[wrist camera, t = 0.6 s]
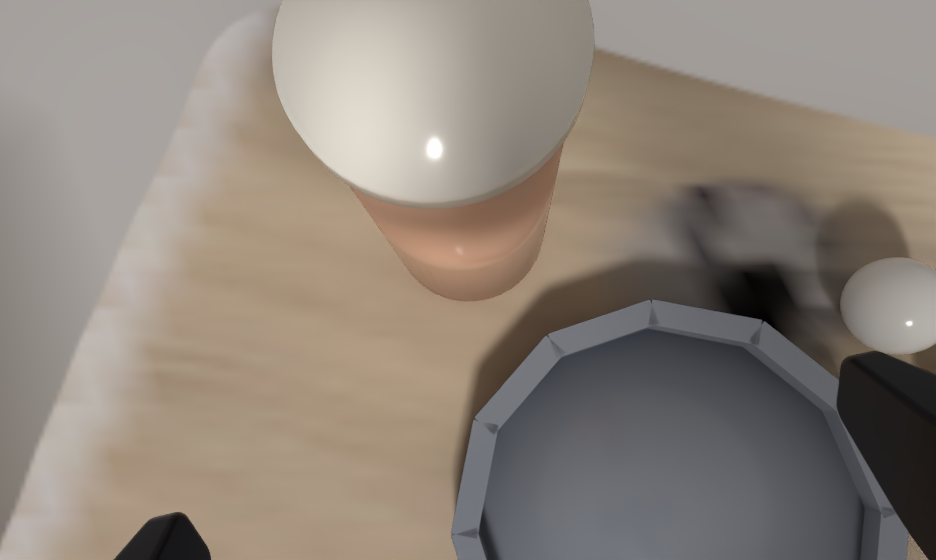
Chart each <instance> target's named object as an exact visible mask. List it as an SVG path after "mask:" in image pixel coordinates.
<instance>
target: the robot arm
mask: <svg viewBox="0 0 936 560" xmlns="http://www.w3.org/2000/svg"><path fill="white" fill-rule="evenodd" d="M836 404H837V410H838V414H839V416H840V419H841V420H842V422H843V424H844V426H845V427H846V429H847V431H848V433H849V434H850V436H851V438H852V439H853V441H854V443H855V445H856V446H857V448H858V450H859V451H860V453H861V455H862V456H863V458H864V460H865V462H866V463H867V465H868V467H869V468H870V470H871V472H872V474H873V475H874V477H875V479H876V480H877V482H878V484H879V486H880V487H881V489H882V491H883V492H884V494H885V496H886V497H887V499H888V501H889V503H890V504H891V506H892V507H893V509H894V511H895V512H896V514H897V516H898V517H899V519H900V520H901V522H902V523H903V525H904V526H905V528H906V529H907V530H908V532H909V533H910V535H911V536H912V538H913V539H914V540H915V542H916V543H917V544H918V546H919V547H920V549H921V550H922V551H923V553H924V554H925V555H926V557H927V558H928V559H929V560H936V374H933V373H931V372H928V371H926V370H924V369H921V368H919V367H916V366H914V365H912V364H909V363H907V362H904V361H902V360H899V359H897V358H895V357H892V356H890V355H887V354H885V353H882V352H879V351H870V352H865V353H861V354H857V355H852V356H848V357H846V358H845V359H844V360H843V362H842V364H841V369H840V377H839V385H838V392H837V400H836ZM114 560H211V556H210V552H209V549H208V547H207V545H206V544H205V542H204V541H203V539H202V538H201V536H200V535H199V533H198V532H197V530H196V529H195V527H194V526H193V524H192V523H191V521H190V520H189V518H188V517H187V516H186V515H185V514H183V513H181V512H175V513H170V514H166V515H162V516H158V517H154V518H152V519H150V520H149V521H148V522H146V523H145V524H144V526H143V527H142V528H141V529H140V530H139V531H138V532H137V534H136V535H135V536H134V537H133V538H132V539H131V540H130V542H129V543H128V544H127V545H126V546H125V547H124V548H123V550H122V551H121V552H120V553H119V554H118V555H117V556H116V558H115V559H114Z"/></svg>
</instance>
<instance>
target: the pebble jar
mask: <svg viewBox="0 0 936 560" xmlns="http://www.w3.org/2000/svg"><path fill="white" fill-rule="evenodd" d="M593 55H594V24H593V19H592V14H591V8H590V5H589V2H588V0H283V1H282V4H281V7H280V10H279V12H278V15H277V19H276V24H275V29H274V33H273V45H272V63H273V74H274V79H275V83H276V88H277V92H278V95H279V97H280V100H281V103H282V105H283V108H284V110H285V112H286V114H287V116H288V118H289V119H290V121H291V123H292V125H293V127H294V128H295V129H296V131H297V132H298V133H299V135H300V136H301V137H302V139H303V140H304V141H305V143H306V144H307V145H308V147H309V148H310V149H311V151H312V152H313V153H314V155H315V156H316V157H317V159H318V160H319V161H320V162H321V163H322V164H323V165H324V166H325V167H326V168H327V169H328V170H329V171H330V172H331V173H332V174H333V175H335V176H336V177H337V178H339V179H340V180H341V181H343V182H344V183H345V184H347V185H348V186H350V188H351V189H352V190H353V192H354V193H355V195H356V196H357V198H358V199H359V200H360V202H361V203H362V205H363V206H364V208H365V209H366V210H367V212H368V213H369V215H370V216H371V218H372V219H373V220H374V222H375V223H376V225H377V226H378V227H379V229H380V230H381V232H382V233H383V235H384V236H385V237H386V239H387V240H388V242H389V243H390V245H391V246H392V247H393V249H394V250H395V252H396V253H397V255H398V256H399V257H400V259H401V260H402V262H403V263H404V265H405V266H406V267H407V269H408V270H409V272H410V273H411V274H412V275H413V277H414V278H415V279H416V280H417V281H418V282H419V283H420V284H422V285H423V286H424V287H426V288H427V289H428V290H430V291H432V292H434V293H435V294H438V295H440V296H443V297H445V298H449V299H453V300H459V301H479V300H485V299H489V298H493V297H495V296H498V295H500V294H502V293H504V292H506V291H508V290H509V289H511V288H512V287H514V286H515V285H516V284H518V283H519V282H520V281H521V280H522V279H523V278H524V277H525V276H526V275H527V273H528V272H529V271H530V270H531V268H532V267H533V265H534V263H535V261H536V260H537V257H538V255H539V252H540V249H541V245H542V241H543V237H544V232H545V227H546V223H547V218H548V213H549V209H550V204H551V199H552V195H553V190H554V185H555V180H556V176H557V171H558V166H559V162H560V157H561V152H562V148H563V143H564V141H565V139H566V138H567V136H568V134H569V133H570V131H571V129H572V127H573V126H574V124H575V122H576V119H577V117H578V114H579V112H580V110H581V107H582V104H583V100H584V96H585V92H586V89H587V85H588V81H589V77H590V73H591V68H592V63H593Z"/></svg>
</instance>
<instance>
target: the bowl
mask: <svg viewBox="0 0 936 560" xmlns="http://www.w3.org/2000/svg"><path fill="white" fill-rule="evenodd" d="M838 385H839V380H838V379H837V378H836V377H834V376H833V375H832V374H831V373H829V372H828V371H827V370H825V369H824V368H823V367H822V366H820V365H819V364H818V363H817V362H815V361H814V360H813V359H812V358H810V357H809V356H808V355H807V354H805V353H804V352H803V351H802V350H800V349H799V348H798V347H796V346H795V345H794V344H793V343H791V342H790V341H789V340H788V339H786V338H785V337H784V336H783V335H781V334H780V333H779V332H778V331H776V330H775V329H774V328H773V327H771V326H770V325H769V324H768V323H766V322H765V321H763V322H762V320H760V319H754V318H749V317H744V316H738V315H733V314H728V313H722V312H717V311H712V310H707V309H701V308H696V307H691V306H685V305H680V304H675V303H669V302H664V301H659V300H654V299H652V300H651V301H650V300H647V301H644V302H641V303H638V304H635V305H632V306H629V307H626V308H623V309H620V310H617V311H614V312H611V313H608V314H605V315H602V316H599V317H596V318H593V319H591V320H588V321H585V322H582V323H579V324H576V325H573V326H570V327H567V328H564V329H561V330H558V331H555V332H552V333H549V334H548V335H547V336H545V337H544V338H543V339H542V340H541V342H540V343H539V344H538V345H537V346H536V347H535V348H534V350H533V351H532V352H531V353H530V354H529V355H528V357H527V358H526V359H525V360H524V361H523V362H522V363H521V365H520V366H519V367H518V368H517V369H516V370H515V372H514V373H513V374H512V375H511V376H510V377H509V378H508V380H507V381H506V382H505V383H504V384H503V385H502V386H501V388H500V389H499V390H498V391H497V392H496V393H495V395H494V396H493V397H492V398H491V399H490V400H489V401H488V403H487V404H486V405H485V406H484V407H483V408H482V410H481V411H480V412H479V413H478V414H477V415H476V416H475V418H476V419H475V420H473V425H472V430H471V435H470V440H469V445H468V450H467V455H466V460H465V465H464V470H463V475H462V480H461V485H460V490H459V495H458V500H457V505H456V510H455V515H454V520H453V525H452V530H451V533H452V535H451V538H452V541H453V544H454V547H455V551H456V554H457V557H458V560H907V549H908V536H909V532H908V530H907V529H906V528H905V526H904V525H903V523H902V522H901V520H900V519H899V517H898V516H897V514H896V512H895V511H894V509H893V507H892V506H891V504H890V503H889V501H888V499H887V497H886V496H885V494H884V492H883V491H882V489H881V487H880V486H879V484H878V482H877V480H876V479H875V477H874V475H873V474H872V472H871V470H870V468H869V467H868V465H867V463H866V462H865V460H864V458H863V456H862V455H861V453H860V451H859V450H858V448H857V446H856V445H855V443H854V441H853V439H852V438H851V436H850V434H849V433H848V431H847V429H846V427H845V426H844V424H843V422H842V420H841V419H840V416H839V414H838V410H837V404H836V400H837V392H838Z"/></svg>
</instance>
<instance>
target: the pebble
mask: <svg viewBox="0 0 936 560" xmlns="http://www.w3.org/2000/svg"><path fill="white" fill-rule="evenodd" d="M840 309H841V315H842V318H843V321H844V323H845V325H846V327H847V328H848V330H849V331H850V333H851V334H852V335H853V336H854V337H855V338H856V339H857V340H858V341H860V342H861V343H862V344H864V345H866V346H868V347H869V348H871V349H874V350H876V351H879V352H883V353H888V354H912V353H916V352H919V351H923V350H925V349H927V348H929V347H931V346H933V345H935V344H936V269H934V268H933V267H931V266H929V265H927V264H925V263H923V262H921V261H918V260H914V259H910V258H902V257H892V258H884V259H880V260H877V261H873V262H871V263H869V264H867V265H865V266H863V267H862V268H860V269H859V270H858V271H856V272H855V273H854V274H853V275H852V276H851V277H850V279H849V280H848V281H847V283H846V285H845V287H844V289H843V291H842V294H841V300H840Z"/></svg>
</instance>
